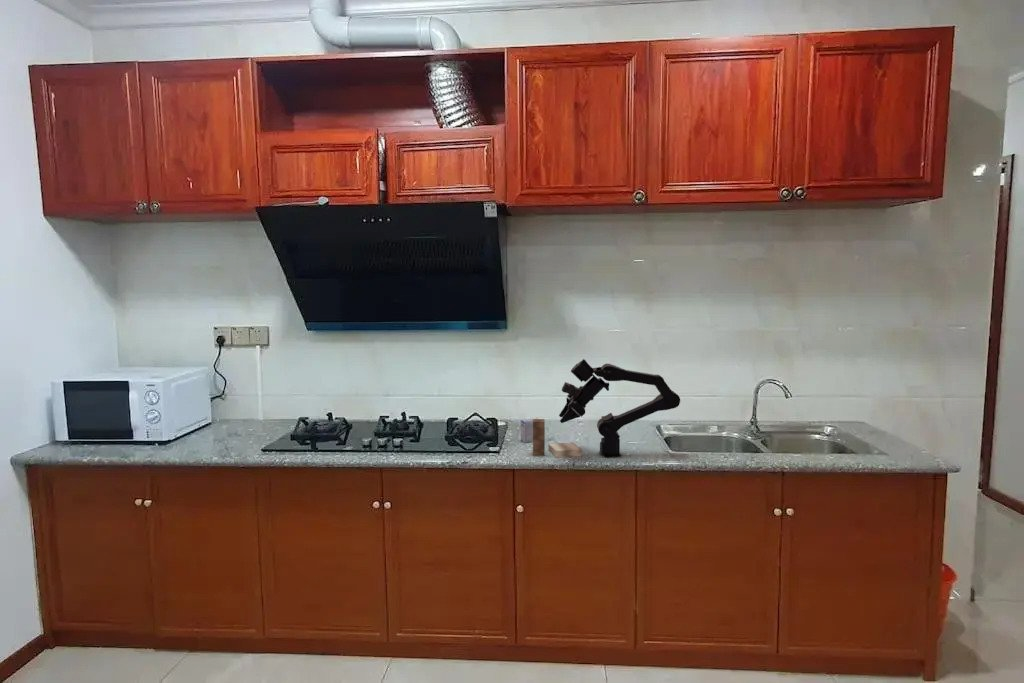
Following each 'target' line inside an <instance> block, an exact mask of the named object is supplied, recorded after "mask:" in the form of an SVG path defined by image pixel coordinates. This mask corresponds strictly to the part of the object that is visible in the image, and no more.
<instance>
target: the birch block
mask: <svg viewBox="0 0 1024 683" xmlns="http://www.w3.org/2000/svg"><path fill="white" fill-rule="evenodd" d="M582 451H583V450H582V448H580V446H579V445H577V444H576V443H575V442H573V441H571V442H557V443H548V452H549V453H551V455H553V456H554V458H556V459H557V458H559V459H560V458H570V457H572V458H573V457H582Z"/></svg>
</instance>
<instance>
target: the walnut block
mask: <svg viewBox="0 0 1024 683" xmlns="http://www.w3.org/2000/svg"><path fill="white" fill-rule="evenodd" d="M532 419H533V442H532V456H533V457H537V456H540V457H545V452H546V451H545V450H546V449H545V441H546V439H545V437H546V435H545V434H546V433H545V432H546V430H545V427H546V424H545V423H546V421H545V418H538V419H536V418H532Z"/></svg>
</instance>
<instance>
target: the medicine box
mask: <svg viewBox="0 0 1024 683" xmlns="http://www.w3.org/2000/svg"><path fill="white" fill-rule="evenodd" d="M533 419H534V418H527V419H525V418H524V419H520V441H521V440H522V441H521V442H523V443H524V442H526V443H533ZM535 419H539V418H537V417H536V418H535Z"/></svg>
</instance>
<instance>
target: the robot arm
mask: <svg viewBox="0 0 1024 683" xmlns="http://www.w3.org/2000/svg"><path fill="white" fill-rule="evenodd" d="M570 373H572V374H573V375H574V376H575V377H576V378H577V379H578V380H579V381H580V382H581V383H582V382H583V383H584V382H585V384H584V385H580V386H579V387H577V386H575V385H574V384H573V383H569V382H566V381H565V382H564V383H563V386H562V388H561V392H563V393H564V394H567V395H566V396H567V397H566V398H565V400H566V403H565V405H564V406H563V408H562V410H561V411H560V413H559V415H558V416H559V417H560V418H561V419H560V420H559V422H560V424H564V423H565V422H569V421H572V420H574V419H575V420H576V419H578V418H580V417H581V418H582V417H583V416H584V415H585V414H586V407H587V405H588V404H589V403H590V402H591V401H594V398H595V397H596V396H597V395H598V394H599V393H600V392H601V391H602V390H603V389H605V390H606V391H607V392H608V391H610V383H609V382H620V381H621V382H622V381H626V382H633V383H638V384H642V385H643V384H644V385H649V386H655V388H656V389H657V392H659V394H658V395H657V396H656V397H654V399H652V400H651V401H647V402H646V403H644V404H642V405H641V404H640V405H639V406H636V407H634V408H632V409H629V410H627V411H624V412H623V413H620V414H617V415H613V413H612V412H610V413H608V414H606V415H604V416H603V415H602V416H601V418H600V419H598V421H597V423H596V428H597V430H598V433H599V434H600V435H601V436H602V437H601V439H600V440H601V441H599V453H598V454H601V455H602V456H603V457H604V458H612V457H613V456H616V457H621V456H622V454H621V453H620V452H621V450H620V447H621V446H620V445H621V443H620V440H621V436H620V434H619V432H618V431H620V429H621V428H623V427H625V426H626V425H629V424H631V423H633V422H636V421H638V420H640V419H642V418H645V417H647V416H649V415H650V416H651V415H652V414H654V413H656V412H659V411H669V410H672V409H677V407H679V406H680V404H681V397H680V396H679V394H677V393H676V392H675V391H673V390H672V389H671V388H670V387H669V385H668V384H667V382H666V381H665V379H664V378H663V376H661V375H660V374H652V373H646V372H640V371H636V370H629V369H624V368H622V367H619V366H618V365H617V366H616V365H615V364H611V363H605V364H602V366H598V367H592V366H591V365H590V364H589V363H588V362H587V360H586V359H584V358H583V359H582V360H580V361H579V362H577V363H576V364H575V365H574V366H572V368H571V370H570ZM595 375H596V376H595ZM606 381H607V382H606ZM613 458H614V457H613Z"/></svg>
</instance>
